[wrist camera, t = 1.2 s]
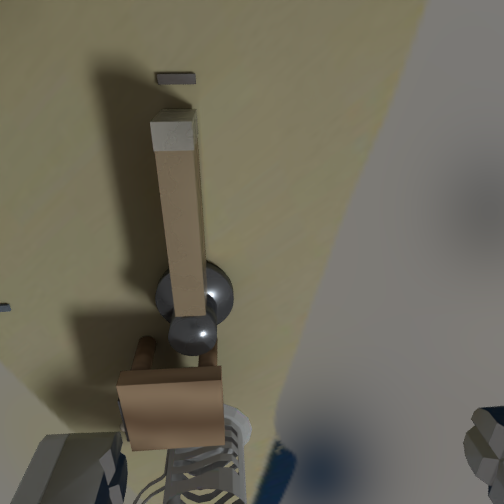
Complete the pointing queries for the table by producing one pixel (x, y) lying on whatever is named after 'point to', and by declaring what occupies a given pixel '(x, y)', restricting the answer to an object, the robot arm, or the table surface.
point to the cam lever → (186, 239)
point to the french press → (208, 466)
